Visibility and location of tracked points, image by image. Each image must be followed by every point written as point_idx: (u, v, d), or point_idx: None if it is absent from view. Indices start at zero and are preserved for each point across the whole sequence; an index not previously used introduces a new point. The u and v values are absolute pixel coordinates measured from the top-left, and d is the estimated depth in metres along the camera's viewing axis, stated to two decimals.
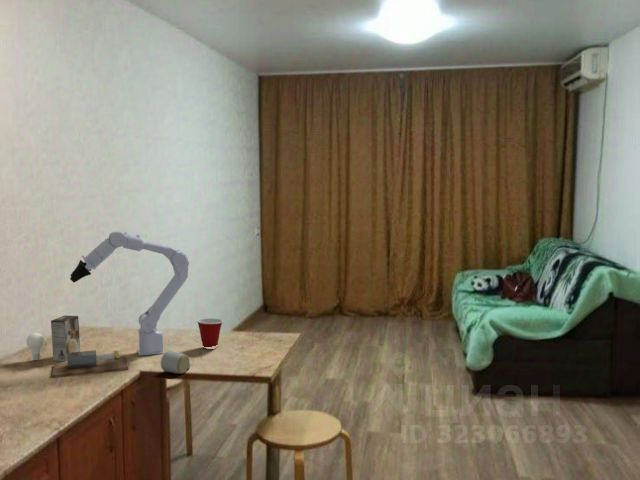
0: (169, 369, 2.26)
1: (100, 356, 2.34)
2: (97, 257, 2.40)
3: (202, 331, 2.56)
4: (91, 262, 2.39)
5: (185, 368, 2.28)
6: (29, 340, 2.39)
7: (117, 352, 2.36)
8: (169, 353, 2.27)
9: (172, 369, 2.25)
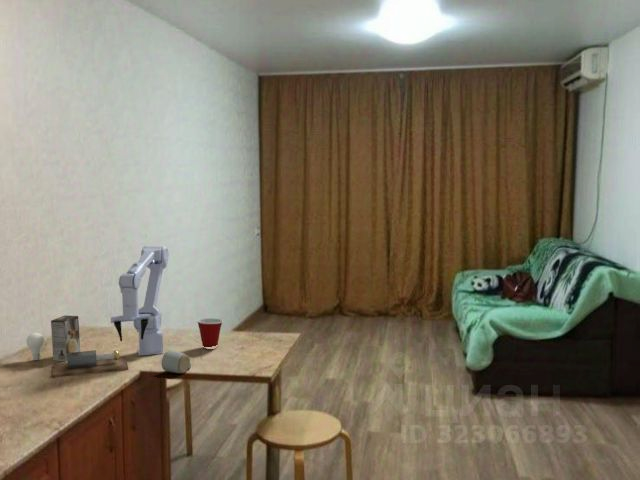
0: (170, 369, 2.26)
1: (100, 356, 2.34)
2: None
3: (202, 331, 2.56)
4: (138, 314, 2.38)
5: (186, 368, 2.28)
6: (29, 340, 2.39)
7: (117, 352, 2.36)
8: (170, 353, 2.28)
9: (172, 369, 2.26)
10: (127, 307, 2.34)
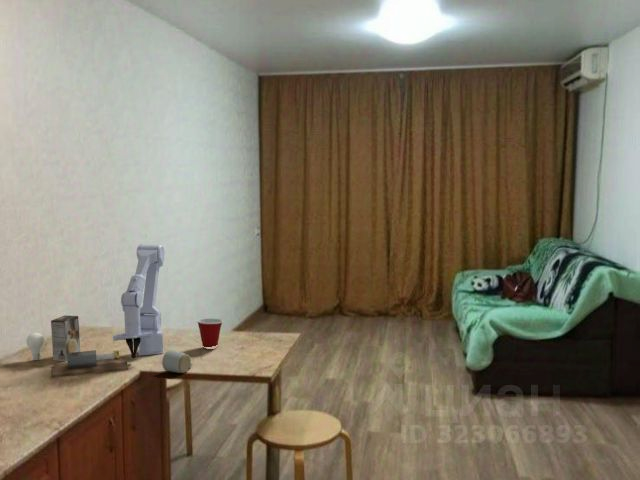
0: (170, 368, 2.27)
1: (100, 356, 2.34)
2: None
3: (202, 331, 2.56)
4: (140, 331, 2.39)
5: (186, 367, 2.28)
6: (29, 340, 2.39)
7: (117, 352, 2.36)
8: (170, 353, 2.28)
9: (173, 369, 2.26)
10: (129, 325, 2.35)
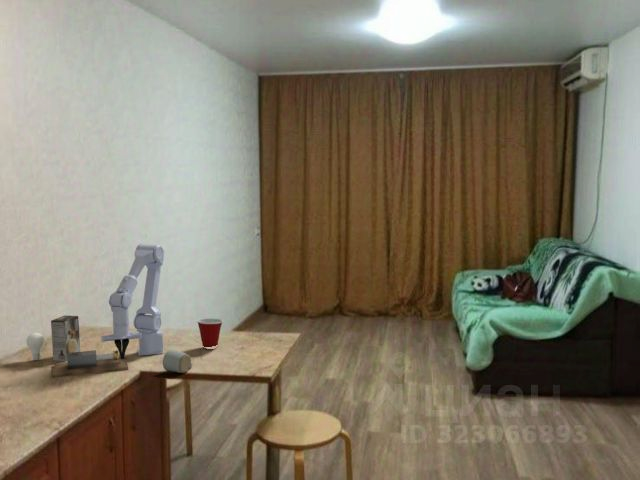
0: (171, 368, 2.27)
1: (99, 356, 2.34)
2: (128, 325, 2.37)
3: (202, 331, 2.56)
4: None
5: (187, 367, 2.29)
6: (29, 340, 2.39)
7: (116, 352, 2.36)
8: (171, 352, 2.28)
9: (173, 368, 2.26)
10: (118, 326, 2.33)
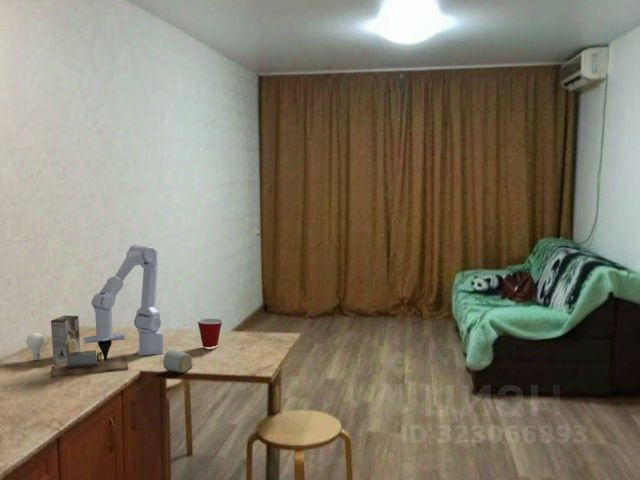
0: (171, 368, 2.27)
1: None
2: None
3: (202, 331, 2.56)
4: (112, 334, 2.35)
5: (187, 367, 2.29)
6: (29, 340, 2.39)
7: (100, 354, 2.34)
8: (171, 352, 2.29)
9: (174, 368, 2.27)
10: (100, 328, 2.31)
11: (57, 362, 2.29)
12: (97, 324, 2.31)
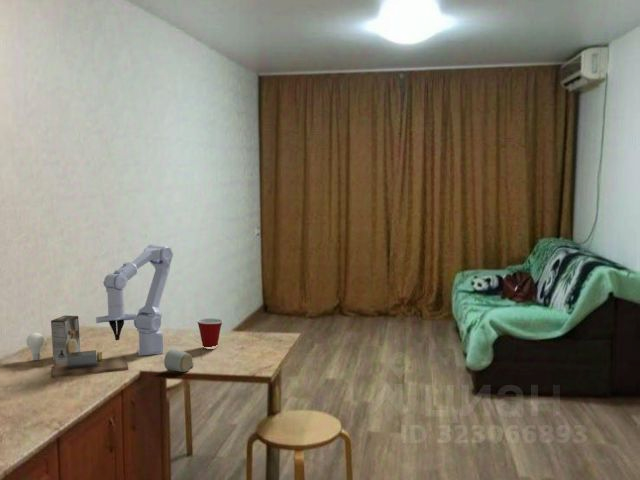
0: (172, 367, 2.28)
1: None
2: (123, 306, 2.38)
3: (202, 331, 2.56)
4: (124, 314, 2.38)
5: (188, 366, 2.29)
6: (29, 340, 2.39)
7: (100, 354, 2.34)
8: (172, 352, 2.29)
9: (175, 368, 2.27)
10: (112, 307, 2.34)
11: (57, 362, 2.29)
12: (109, 304, 2.34)
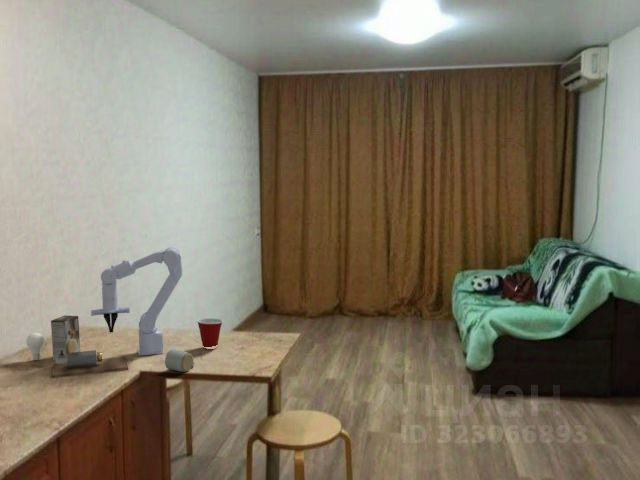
0: (173, 367, 2.28)
1: None
2: (117, 300, 2.49)
3: (202, 331, 2.56)
4: (117, 307, 2.49)
5: (189, 366, 2.30)
6: (29, 340, 2.39)
7: (100, 354, 2.34)
8: (173, 351, 2.30)
9: (175, 367, 2.28)
10: (106, 301, 2.45)
11: (57, 362, 2.29)
12: None
